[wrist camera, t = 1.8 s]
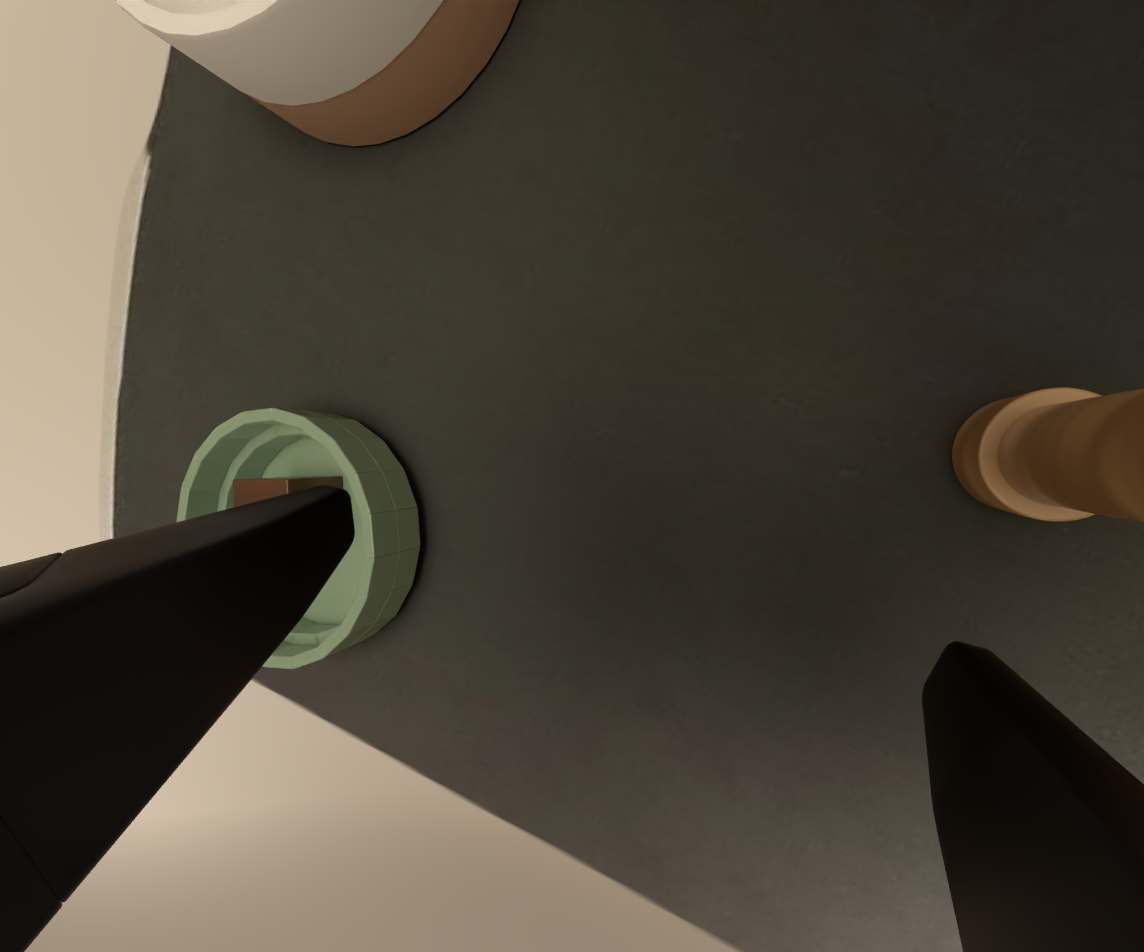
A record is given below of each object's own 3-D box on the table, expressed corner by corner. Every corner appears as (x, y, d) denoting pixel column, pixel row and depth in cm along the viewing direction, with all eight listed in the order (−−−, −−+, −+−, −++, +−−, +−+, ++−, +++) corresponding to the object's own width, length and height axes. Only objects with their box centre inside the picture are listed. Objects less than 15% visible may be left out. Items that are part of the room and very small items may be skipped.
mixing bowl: (402, 675, 29) (346, 708, 25) (232, 599, 33) (161, 618, 29) (448, 443, 28) (395, 442, 24) (264, 393, 32) (194, 385, 28)
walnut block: (345, 543, 29) (290, 554, 26) (293, 541, 30) (234, 552, 27) (343, 475, 29) (287, 478, 26) (291, 476, 30) (231, 479, 27)
